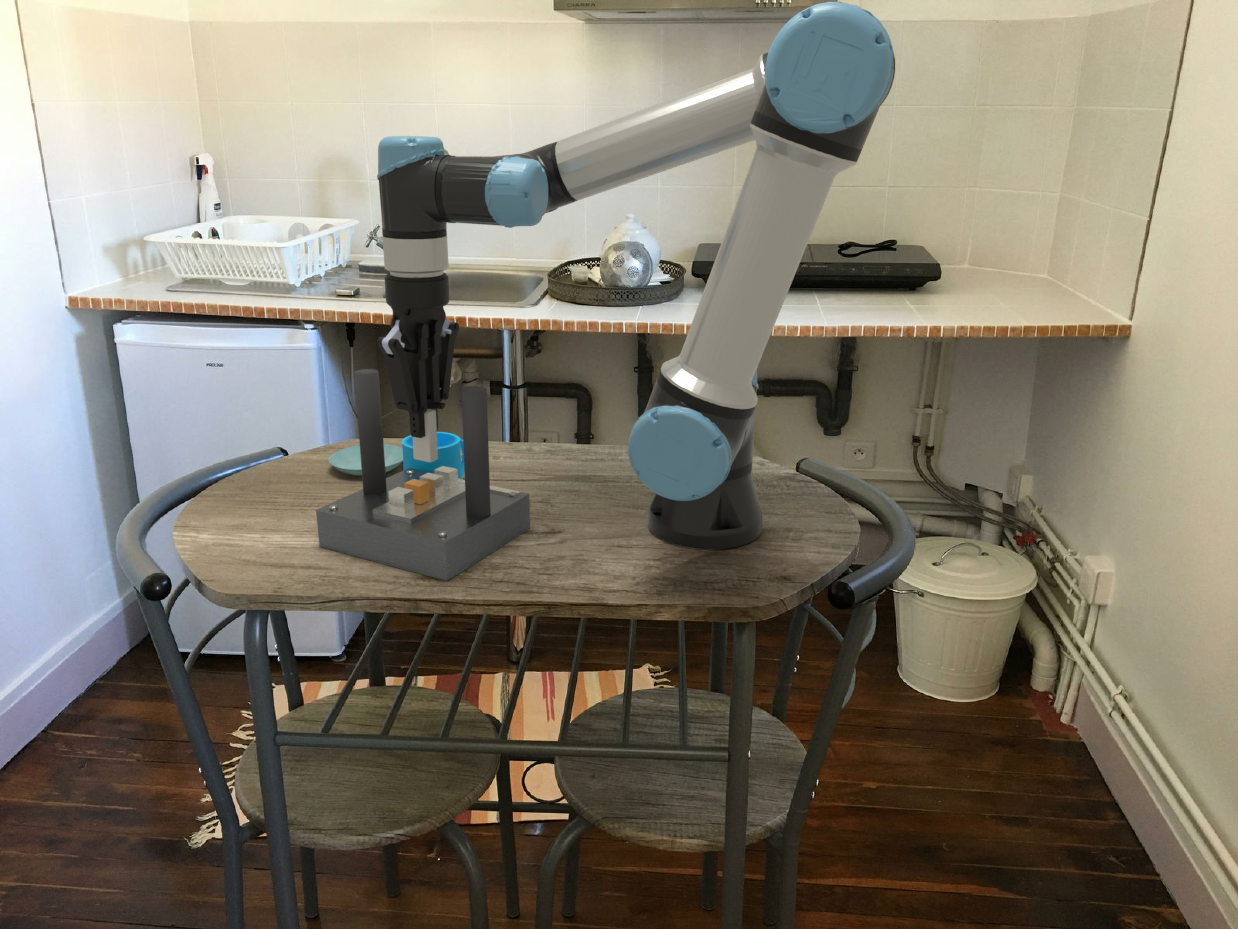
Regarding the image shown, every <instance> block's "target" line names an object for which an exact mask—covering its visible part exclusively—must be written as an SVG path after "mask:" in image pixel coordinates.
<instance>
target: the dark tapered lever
mask: <svg viewBox="0 0 1238 929" xmlns="http://www.w3.org/2000/svg"><path fill="white" fill-rule="evenodd" d="M460 392H461V416H462V418H461V419H462V440H463V445H464V470H465V472H464V480H465V495H466V515H467V516H468V517H470V518H475V519H480V518H485V517H488V516H489V515H490V514H491V510H490V485H491V484H490V483H491V482H490V480H491V478H490V454H489V453H490V452H489V450H490V448H489V447H490V446H489V420H488V419H489V418H488V393H487V392H488V389H487V388H486V387H484V386H479V385H478V386H476V385H475V386H472V385H471V386H465V387H463V388H461V390H460Z"/></svg>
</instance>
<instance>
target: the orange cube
mask: <svg viewBox="0 0 1238 929" xmlns="http://www.w3.org/2000/svg"><path fill="white" fill-rule="evenodd" d="M404 486H405V488H406V489H410V490H413V492H414V503H417V504H422V503H424V502H426V501H428V500H430V499H429V482H426V481H421V480H417V479H412V480H410V481H408V482H406V483H404Z"/></svg>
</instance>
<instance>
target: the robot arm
mask: <svg viewBox="0 0 1238 929" xmlns="http://www.w3.org/2000/svg"><path fill="white" fill-rule="evenodd" d="M890 37H891V36H890V35H889V34H888V31H887V29H886V28H885V26H884V25H883V23H882V22H881V21H880V20H879V18H878V17H876V16H875V15H874V14H873V13H872V12H871V11H869V10H868V9H864V8H862V7H860V6H858V5H857V4H852V3H846V2H842V1H827V2H821V3H817V4H814V5H811V6H809V7H807V8H805V9H803V10H802V11H799V12H798V13H797V14H795V15H793V17H791V18H790V19H789V20H788V21H787V22H786V23H785V24H784V25H783V26H782V28H781V29H780V30H779V32H778V33H777V34H776V35H775V38H774V39H773V41H772V43H771V46H770V47H769V49H768V52H766V53H763V54H761V55H759V57H758V60H757V62H756V63H755V65H754V67H753V68H750V69H747V70H745V71H741V72H738V73H736V74H734V75H731V76H728V77H726V78H723V79H721V80H718V81H715V82H712V83H709V84H707V85H704V86H702V87H699V88H696V89H694V90H691V91H688V92H686V93H683V94H679V95H678V96H675V97H672V98H670V99H666V100H663V101H661V102H658V103H656V104H653V105H650V106H648V107H645V108H642V109H640V110H636V111H635V112H632V113H629V114H627V115H623V116H621V117H619V118H616V119H613V120H611V121H610V120H609V122H605V123H603V124H600V125H597V126H594V127H592V128H589V129H587V130H583V131H581V132H578V133H576V134H573V135H570V136H567V137H564V138H562V139H559V140H557V141H555V142H551V143H548V144H545V145H542V146H540V147H536V148H535V149H534V148H533V149H532V150H528V151H527V152H523V153H516V154H506V155H504V154H503V155H495V156H482V155H481V156H471V155H469V156H467V155H466V156H458V155H457V156H456V155H450V154H446V151H445V147H444V142H443V141H442V139H441V138H440V137H437V136H423V135H422V136H421V135H390V136H385V137H383V138H382V139H381V140H380V141H379V143H378V146H377V175H376V179H377V180H378V186H379V187H378V189H379V201H380V202H379V204H380V212H381V213H380V214H381V231H382V232H381V233H382V234H381V235H382V247H383V248H382V249H383V263H384V264H383V265H384V270H386V271H388V273H387V274H386V275H385V276H384V289H385V302H386V304H387V305H388V306H389V308H391V310H392V317H391V320H390V329H391V330H390V331H389V332H388V334H387V335H386V336H379V337H378V338H377V339H376V344H377V347H378V348H379V350H380V352H381V353H382V355H383V357H384V362H385V367H386V371H387V374H388V380H389V383H390V387H391V391H392V395H393V399H394V405H395V407H396V409H398V410H402V411H407V412H408V415H409V433H410V435H411V436H412V437H413V454H414V459H417V460H421V461H426V462H430V463H431V462H433V461H435V460H437V459H438V448H437V432H439V430H438V429H439V416H438V411H439V410H443V409H444V408H445V406H446V403H445V402H442V401H447V400H448V399H449V396H450V389H451V388H450V387H451V378H452V370H453V362H454V361H453V360H454V353H455V352H454V351H455V342H456V339H457V335H458V333H459V330H460V324H459V323H458V322H454V321H450V320H449V319H447V314H446V310H445V308H444V306H447V305H448V304H449V302H450V282H449V279H450V278H449V275H448V274H447V273H446V272H444V271H446V270H447V269H448V268H449V267H450V266H449V264H450V263H449V251H448V250H449V249H448V247H449V246H448V245H449V244H448V231H447V229H448V228H447V224H457V223H458V224H469V225H471V224H472V225H487V226H499V227H504V228H509V229H512V228H515V227H535V226H536V225H538V224H539V223H541V221H542V218H543V216H545V215H546V214H548V213H552V212H554V211H556V210H558V209H559V208H561V207H564V206H567V205H570V204H574V203H575V202H578V201H580V200H583V199H586V198H587V199H588V198H589V197H592V196H595V195H597V194H598V195H599V194H601V193H603V192H604V193H605V192H607V191H610V190H613V189H615V188H618V187H621V186H624V185H628V184H631V183H633V182H636V181H638V180H641V179H645V178H649V177H650V176H654V175H656V174H660V173H662V172H666V171H668V170H671V169H674V168H677V167H681V166H683V165H686V164H690V163H693V162H694V161H698V160H700V159H703V158H706V157H709V156H711V155H715V154H718V153H721V152H724V151H727V150H729V149H732V148H735V147H739V146H741V145H744V144H747V143H750V142H753V141H755V143H756V150H755V152H754V155H753V158H752V161H751V163H750V166H749V169H748V171H747V173H746V176H745V179H744V182H743V183H742V187H741V190H740V193H739V194H738V198H737V200H736V203H735V205H734V209H733V212H732V214H731V216H730V219H729V222H728V225H727V227H726V230H725V233H724V236H723V238H722V241H721V244H720V246H719V249H718V252H717V254H716V256H715V257H716V258H715V259H714V262H713V265H712V268H711V271H710V272H709V273H710V274H709V276H708V278H707V280H706V281H707V282H706V284H705V287H704V289H703V293H702V294H701V297H700V300H699V302H698V305H697V308H696V309H695V310H696V312H695V314H694V316H693V319H692V322H691V323H690V324H691V325H690V326H689V330H688V332H687V335H686V337H685V341H684V344H683V346H682V348H681V351H680V354H678V356H676V357H674V358H671V359H669V360H667V361H664V362H663V363H662V365H661V367H660V370H659V372H658V375H657V378H656V380H655V383H654V385H653V388H652V390H651V393H650V396H649V400H648V402H647V405H646V408H645V410H644V412H643V413H642V414H641V415H640V416H639V417H638V418H637V420H636V421H635V422H634V423H633V425H632V427H631V431H630V435H629V437H628V443H627V453H628V458H629V463H630V466H631V467H632V469H633V470H634V473H635V474H636V477H637V478H638V479H639V480H640V482H641V483H642V484H643V485H644V486H645V487H646V488H648V489H649V491H651V492H653V493H654V494H653V497H652V500H651V501H650V502H651V503H650V505H649V508H648V509H649V510H648V529H649V531H650V532H651V534H653V536H655V537H656V538H658V539H660V540H662V541H664V542H666V543H669V544H672V545H674V546H679V547H682V548H688V549H689V548H690V549H697V550H726V549H732V548H733V549H734V548H737V547H741V546H745V545H748V544H750V543H753V542H754V541H755V540H757V539H758V538H759V537H760V535H761V534H762V531H763V530H762V528H763V511H762V509H761V505H760V504H761V503H760V502H759V501H760V500H759V497H758V493H757V490H756V486H755V483H754V478H753V474H752V473H753V457H754V443H755V442H754V439H755V424H756V423H755V422H756V406H757V404H758V401H759V397H758V395H757V390H759V387H760V386H759V384H758V370H757V369H758V366H759V364H760V361H761V359H762V356H763V354H764V352H765V349H766V346H767V344H768V342H769V339H770V337H771V334H772V331H773V330H774V327H775V325H776V322H777V320H778V317H779V316H780V313H781V309H782V308H783V305H784V302H785V300H786V298H787V295H788V293H789V291H790V287H791V285H792V283H793V281H794V278H795V275H796V273H797V270H798V268H799V266H800V263H801V262H802V261H801V260H802V258H803V255H804V253H805V250H806V248H807V246H808V243H809V241H810V238H811V236H812V233H813V231H814V229H815V227H816V224H817V222H818V219H819V217H820V214H821V211H822V209H823V206H824V204H825V202H826V199H827V198H828V195H829V192H830V190H831V187H832V186H833V185H832V184H833V182H834V181H835V180H834V179H835V178H836V177H837V175H838V174H839V173H842V172H843V171H846V170H848V169H850V168H851V167H854V166H856V165H857V163H858V161H859V158H860V156H861V152H862V151H863V148H864V146H865V144H866V141H867V139H868V137H869V135H870V132H871V130H872V127H873V124H874V121H875V119H876V117H877V115H878V112H879V109H881V108H880V107H881V106H882V105H883V103H884V102H885V100H886V99H887V97H888V95H889V94H890V92H891V89H892V86H893V84H894V80H895V74H896V57H895V53H894V48H893V45H892V41H891V38H890ZM438 409H439V410H438Z"/></svg>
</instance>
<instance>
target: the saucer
mask: <svg viewBox="0 0 1238 929" xmlns="http://www.w3.org/2000/svg"><path fill="white" fill-rule="evenodd" d="M384 458H385V472H386V473H388V472H390V471H393V470H394V469H396V468H397V467H398V466H399V465H400V464H402V462H403V449H402V446H401V447H400V446H398V445H394V444H393V445H392V444H387V443H384ZM327 461H328V463H329V464H330V465H331V466H332V467H334V468H335V469H336V470H338V471H340V472H341V473H343V474H347V475H350V476H354V477H362V468H361V454H360V444H359V445H353V446H348V447H346V448H345V447H344V448H343V449H340V450H338V451H334V452H333V453H332V454H331V455H330V456H329V457H328V460H327Z"/></svg>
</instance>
